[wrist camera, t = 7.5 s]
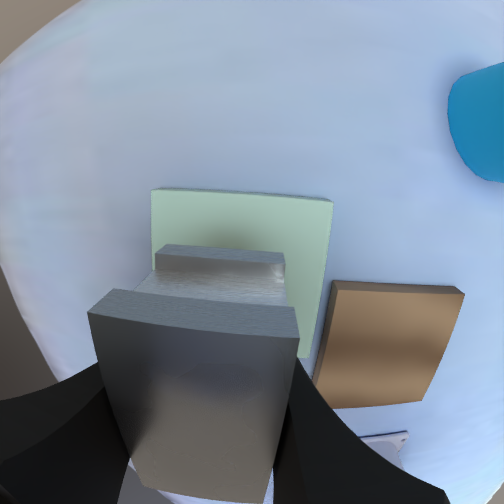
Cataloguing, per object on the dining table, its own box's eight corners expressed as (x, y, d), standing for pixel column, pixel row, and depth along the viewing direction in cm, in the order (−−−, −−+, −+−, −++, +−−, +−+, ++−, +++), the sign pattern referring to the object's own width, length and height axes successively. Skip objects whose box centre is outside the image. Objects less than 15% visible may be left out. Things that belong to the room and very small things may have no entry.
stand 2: (415, 389, 21) (421, 400, 19) (308, 396, 21) (310, 409, 20) (454, 286, 18) (464, 294, 16) (332, 280, 18) (338, 289, 17)
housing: (264, 404, 12) (262, 503, 7) (176, 394, 12) (143, 486, 7) (283, 252, 10) (300, 338, 5) (166, 243, 10) (87, 311, 5)
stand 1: (306, 345, 20) (308, 358, 18) (164, 332, 20) (158, 343, 18) (327, 199, 17) (333, 202, 15) (160, 187, 17) (151, 190, 16)
